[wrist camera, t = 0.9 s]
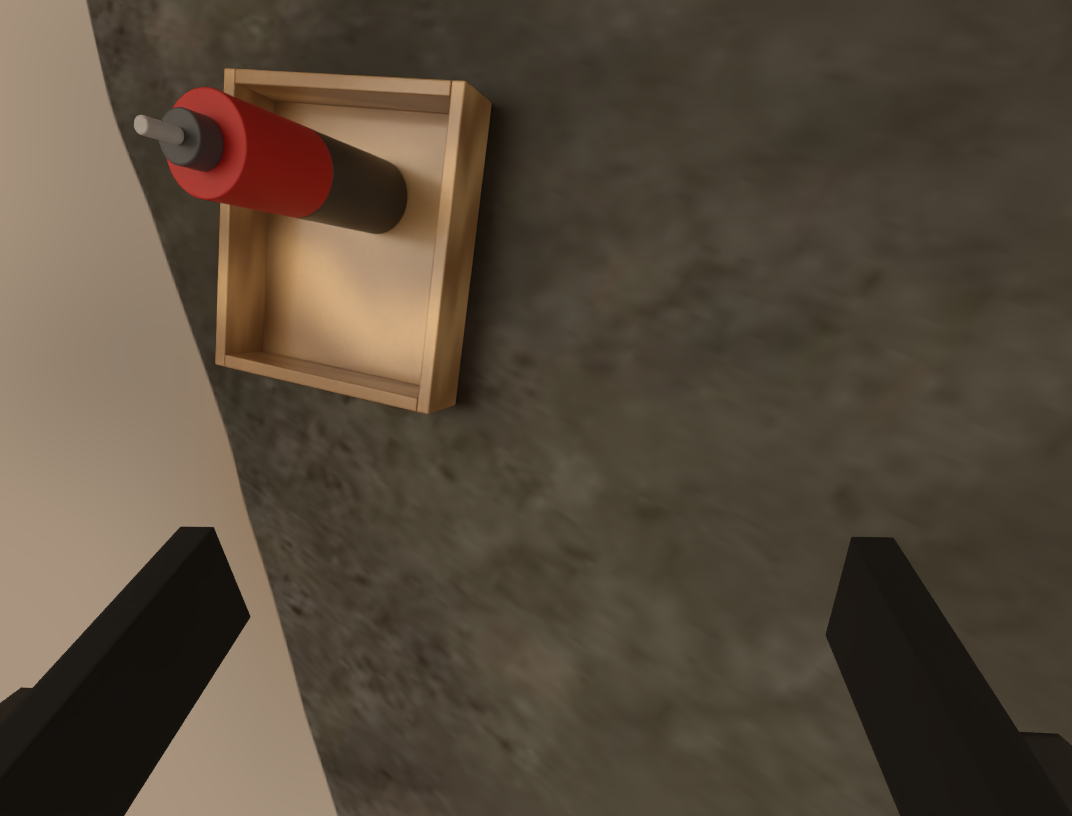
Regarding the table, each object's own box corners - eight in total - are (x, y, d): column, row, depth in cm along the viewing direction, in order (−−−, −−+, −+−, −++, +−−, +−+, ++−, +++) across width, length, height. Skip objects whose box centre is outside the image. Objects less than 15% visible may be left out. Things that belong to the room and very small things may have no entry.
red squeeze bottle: (348, 155, 36) (96, 57, 22) (411, 161, 35) (187, 62, 21) (343, 229, 37) (97, 181, 23) (404, 238, 36) (184, 192, 22)
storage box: (268, 88, 38) (223, 67, 34) (492, 102, 33) (465, 80, 30) (255, 360, 41) (214, 364, 38) (455, 405, 37) (428, 414, 34)
